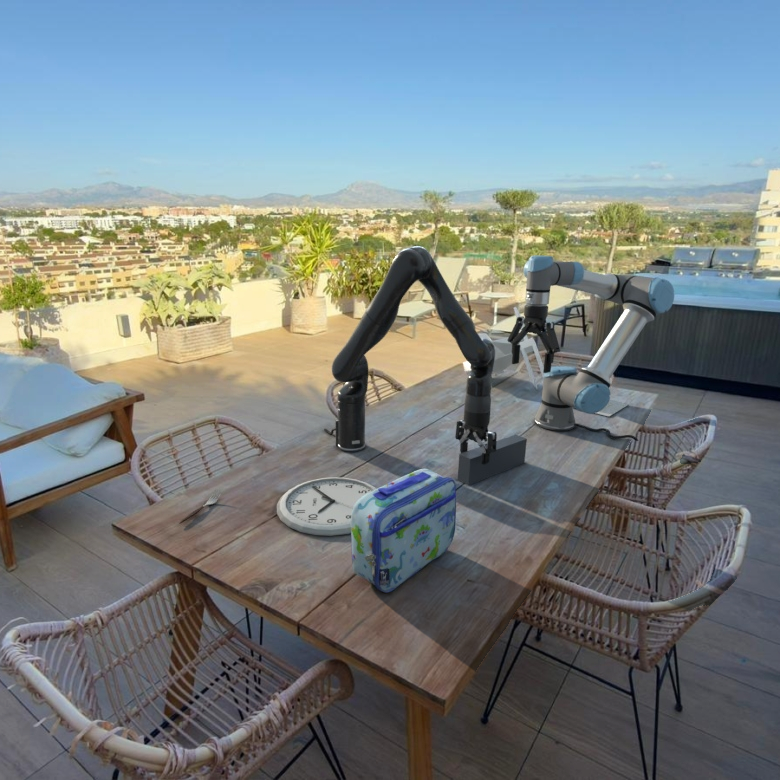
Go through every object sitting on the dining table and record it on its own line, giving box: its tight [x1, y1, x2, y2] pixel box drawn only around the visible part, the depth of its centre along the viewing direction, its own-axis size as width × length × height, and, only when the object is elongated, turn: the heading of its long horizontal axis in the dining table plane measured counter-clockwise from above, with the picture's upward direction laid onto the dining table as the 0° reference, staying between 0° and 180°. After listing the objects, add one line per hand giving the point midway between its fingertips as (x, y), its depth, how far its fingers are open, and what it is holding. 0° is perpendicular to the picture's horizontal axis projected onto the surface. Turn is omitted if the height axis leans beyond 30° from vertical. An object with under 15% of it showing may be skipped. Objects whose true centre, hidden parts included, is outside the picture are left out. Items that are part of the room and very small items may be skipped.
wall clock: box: [276, 476, 378, 537], centre depth 142 cm, size 30×2×30 cm
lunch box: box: [350, 468, 457, 593], centre depth 114 cm, size 26×11×21 cm, turn 134°
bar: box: [457, 434, 528, 486], centre depth 163 cm, size 26×5×9 cm, turn 128°
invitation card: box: [595, 400, 629, 418], centre depth 226 cm, size 21×1×15 cm
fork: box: [178, 489, 223, 525], centre depth 139 cm, size 3×16×2 cm, turn 160°
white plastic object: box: [462, 306, 545, 390], centre depth 260 cm, size 37×45×31 cm
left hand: (474, 458), depth 157 cm, fingers open, 8 cm apart
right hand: (530, 367), depth 176 cm, fingers open, 13 cm apart
